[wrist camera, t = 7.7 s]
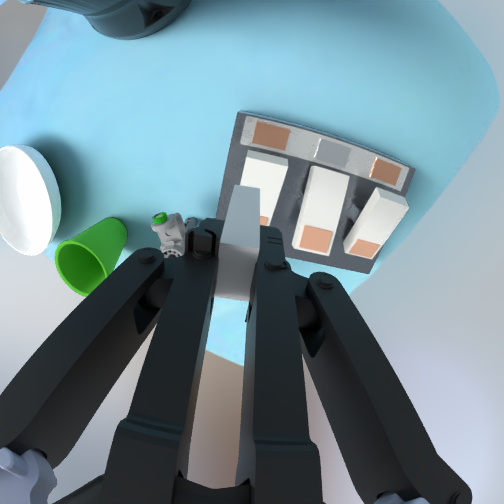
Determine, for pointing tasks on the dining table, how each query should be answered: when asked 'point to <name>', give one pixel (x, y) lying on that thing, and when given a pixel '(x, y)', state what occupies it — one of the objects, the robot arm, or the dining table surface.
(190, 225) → the mechanical component
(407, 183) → the console
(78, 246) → the cup
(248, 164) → the block
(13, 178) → the bowl
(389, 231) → the block
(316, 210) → the rocker
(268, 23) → the dining table surface
